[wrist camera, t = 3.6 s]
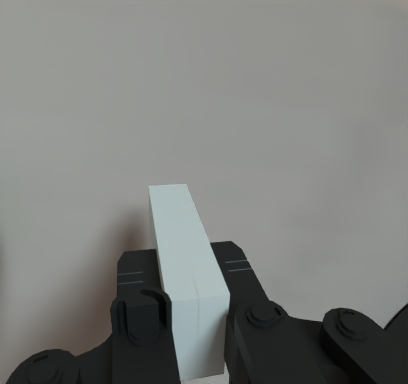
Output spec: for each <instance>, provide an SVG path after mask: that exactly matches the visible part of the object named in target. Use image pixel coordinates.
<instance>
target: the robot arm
mask: <svg viewBox="0 0 408 384" xmlns="http://www.w3.org/2000/svg"><path fill="white" fill-rule="evenodd" d="M148 190H149V215H150V240H151V249H149V250H138V251H127V252H124V253H123V255H122V256H121V258H120V259H119V261H118V266H117V297H116V298H115V299H114V301H113V302H112V305H111V309H110V313H111V322H112V334H111V335H110V336H109V338H108V339H107V340H106V341H105V342H103V343H102V344H101V345H99V346H98V347H96V348H94V349H92V350H90V351H88V352H86V353H83V354H81V355H79V356H76V357H75V356H73V355H72V354H71V353H70V352H69V351H64V350H60V349H53V350H45V351H42V352H40V353H37V354H35V355H32V356H31V357H29V358H28V359H26V360H25V361H24V362H22V363H21V364H20V365H19V366H18V367H17V368H16V369H15V371H14V372H13V373H12V374H11V376H10V377H9V379H8V381H7V382H6V384H181V381H184V380H190V379H196V378H202V377H208V376H214V375H220V374H224V365H225V363H226V366H227V369H228V372H229V384H408V307H407V308H406V309H405V310H403V311H402V312H401V313H400V314H399V315H398V317H397V318H396V319H395V320H394V321H393V322H392V323H391V324H390V326H389V327H388V328H387V330H386V331H385V330H384V329H383V328H381V327H380V326H379V325H378V324H377V323H375V322H374V321H373V320H372V319H370V318H369V317H367V316H366V315H364V314H363V313H360V312H358V311H355V310H352V309H347V308H336V309H331V310H330V311H328V312H327V313H326V314H325V316H324V318H323V322H319V321H311V320H304V319H298V318H293V317H291V316H289V315H288V314H287V312H286V311H285V310H284V309H283V308H282V307H281V306H280V305H278V304H276V303H275V302H273V301H270V300H269V299H268V297H267V296H266V294H265V292H264V290H263V288H262V286H261V284H260V282H259V281H258V279H257V277H256V275H255V273H254V271H253V269H251V266H250V264H249V262H248V261H247V258H246V256H245V254H244V253H243V251H242V249H241V248H240V247H238V246H237V245H236V244H234V243H233V242H232V241H225V242H214V243H209V240H208V238H207V235H206V233H205V230H204V228H203V225H202V223H201V220H200V218H199V215H198V213H197V210H196V208H195V205H194V203H193V200H192V198H191V195H190V193H189V190H188V188H187V185H186V184H175V185H156V186H148Z"/></svg>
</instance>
